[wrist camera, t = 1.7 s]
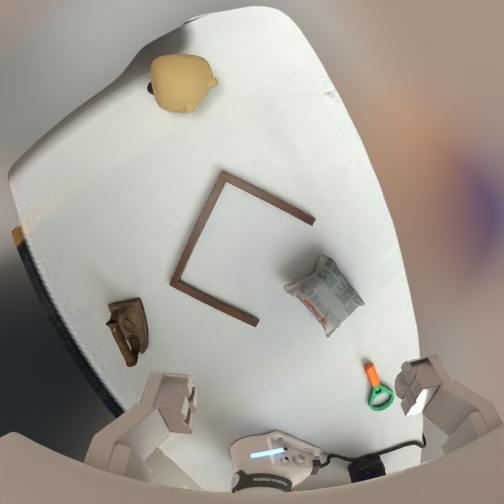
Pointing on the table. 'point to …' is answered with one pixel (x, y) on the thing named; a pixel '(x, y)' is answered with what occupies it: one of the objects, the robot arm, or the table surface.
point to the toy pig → (180, 81)
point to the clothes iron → (129, 328)
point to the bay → (199, 227)
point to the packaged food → (326, 294)
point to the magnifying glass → (375, 386)
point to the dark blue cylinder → (366, 468)
